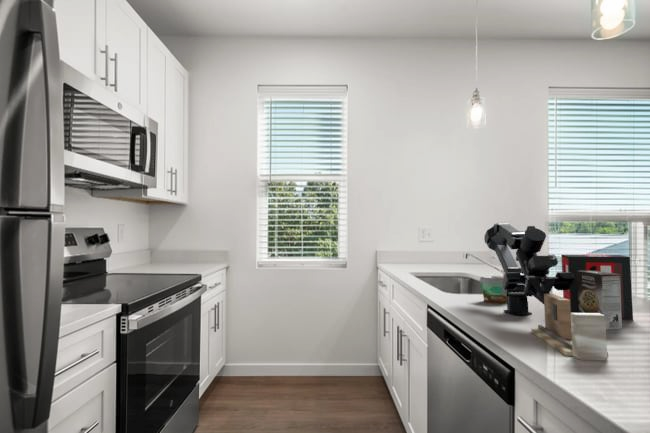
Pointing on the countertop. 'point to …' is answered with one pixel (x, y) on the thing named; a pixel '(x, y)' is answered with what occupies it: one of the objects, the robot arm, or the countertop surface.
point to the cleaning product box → (603, 264)
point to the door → (558, 315)
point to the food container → (493, 290)
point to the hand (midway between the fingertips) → (547, 305)
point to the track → (580, 337)
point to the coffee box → (601, 296)
